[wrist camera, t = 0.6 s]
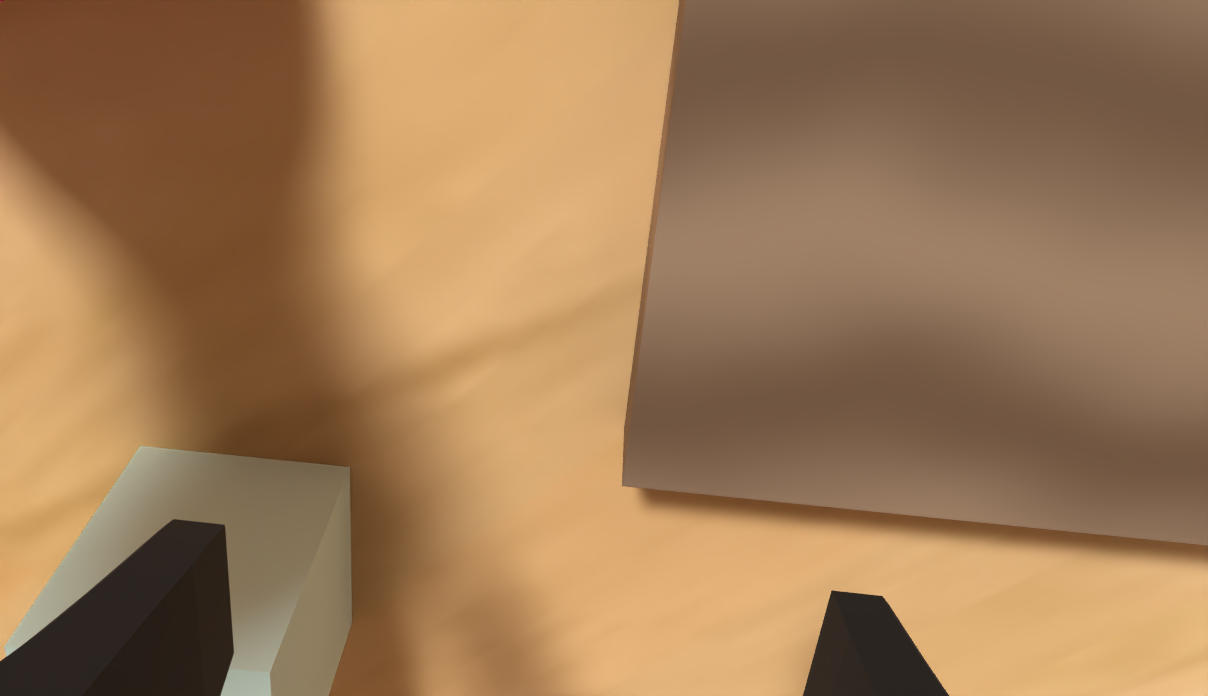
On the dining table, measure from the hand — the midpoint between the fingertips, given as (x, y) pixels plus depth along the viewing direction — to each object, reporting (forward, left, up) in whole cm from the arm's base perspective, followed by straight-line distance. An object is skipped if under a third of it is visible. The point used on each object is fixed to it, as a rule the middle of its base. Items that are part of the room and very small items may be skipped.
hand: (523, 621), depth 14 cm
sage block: (-8, +7, -10) cm, 14 cm away
